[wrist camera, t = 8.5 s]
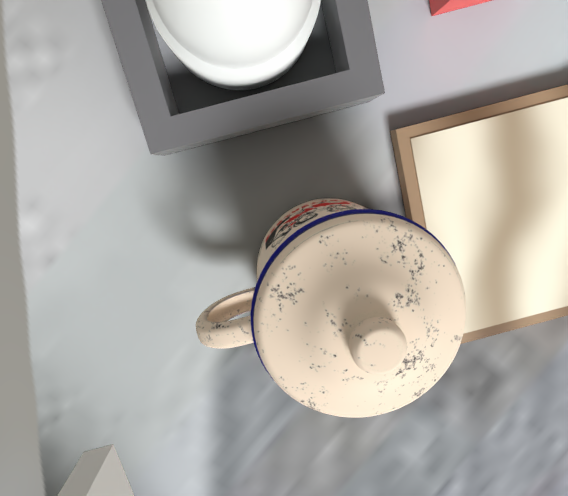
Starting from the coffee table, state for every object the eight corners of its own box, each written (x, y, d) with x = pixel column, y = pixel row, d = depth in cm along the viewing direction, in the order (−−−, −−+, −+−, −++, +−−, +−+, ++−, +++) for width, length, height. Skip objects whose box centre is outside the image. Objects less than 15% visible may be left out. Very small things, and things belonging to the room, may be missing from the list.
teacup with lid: (383, 177, 24) (494, 190, 13) (408, 315, 26) (523, 432, 15) (189, 225, 24) (127, 281, 13) (229, 359, 26) (206, 512, 15)
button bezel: (164, 155, 23) (150, 154, 20) (89, -83, 20) (61, -124, 18) (368, 101, 23) (384, 92, 20) (320, -142, 21) (331, -193, 18)
